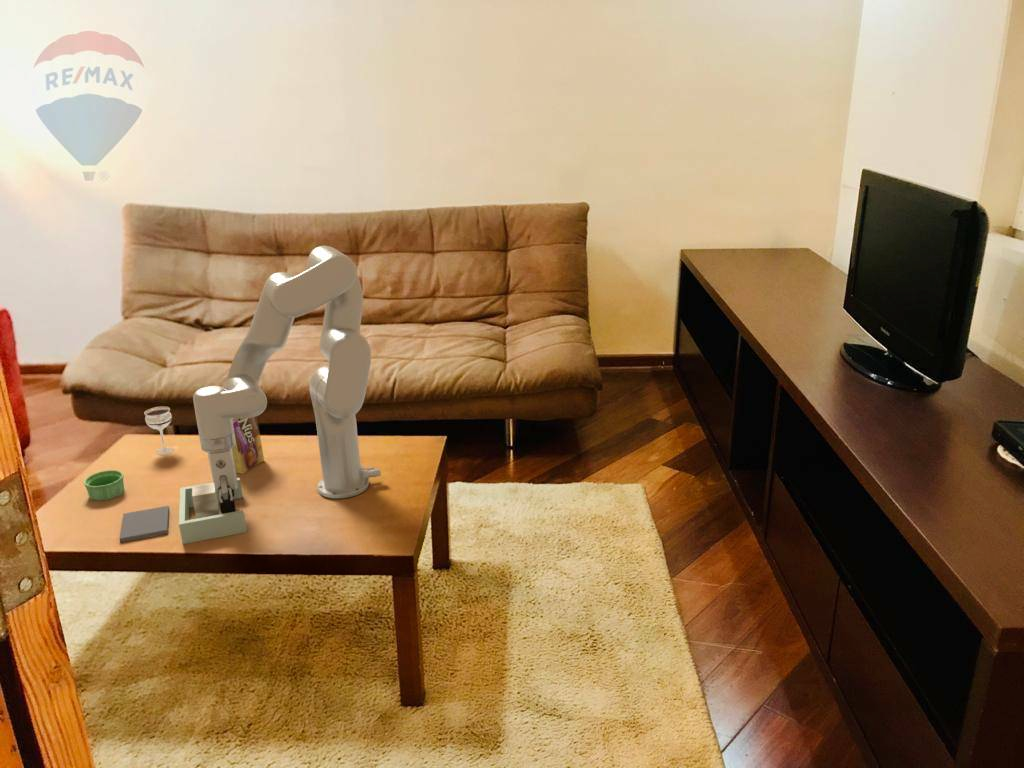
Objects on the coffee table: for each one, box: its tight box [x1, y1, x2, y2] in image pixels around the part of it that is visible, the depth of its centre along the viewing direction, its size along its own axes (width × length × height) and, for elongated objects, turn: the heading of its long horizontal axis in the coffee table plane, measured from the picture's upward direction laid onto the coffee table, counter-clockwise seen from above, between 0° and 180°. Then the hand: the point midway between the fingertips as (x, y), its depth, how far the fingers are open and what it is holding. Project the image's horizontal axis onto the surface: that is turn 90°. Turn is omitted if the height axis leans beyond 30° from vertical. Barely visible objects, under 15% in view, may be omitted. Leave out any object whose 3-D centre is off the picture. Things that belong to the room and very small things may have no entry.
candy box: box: [232, 416, 265, 475], centre depth 221 cm, size 9×4×15 cm, turn 156°
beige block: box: [192, 482, 221, 519], centre depth 196 cm, size 5×5×8 cm
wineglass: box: [143, 405, 175, 456], centre depth 232 cm, size 7×7×12 cm
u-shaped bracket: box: [178, 477, 247, 545], centre depth 197 cm, size 14×18×5 cm
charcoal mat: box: [118, 505, 170, 543], centre depth 196 cm, size 10×12×1 cm
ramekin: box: [83, 469, 125, 502], centre depth 211 cm, size 9×9×4 cm
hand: (228, 506), depth 198 cm, fingers open, 9 cm apart
